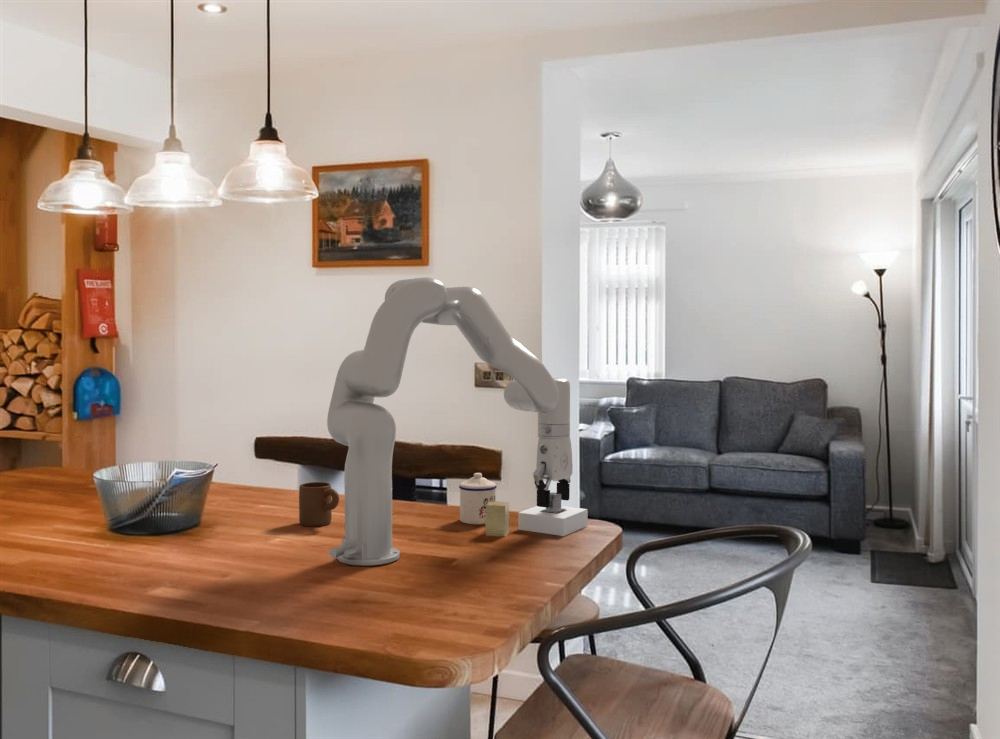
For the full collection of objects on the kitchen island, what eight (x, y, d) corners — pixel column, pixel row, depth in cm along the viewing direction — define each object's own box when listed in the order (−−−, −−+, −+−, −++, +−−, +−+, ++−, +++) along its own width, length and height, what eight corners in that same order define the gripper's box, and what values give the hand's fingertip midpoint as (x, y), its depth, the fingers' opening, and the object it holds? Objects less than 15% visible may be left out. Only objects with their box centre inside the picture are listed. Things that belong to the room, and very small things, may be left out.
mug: (350, 526, 205) (350, 486, 205) (324, 531, 200) (324, 491, 199) (318, 518, 213) (317, 480, 213) (292, 524, 207) (292, 485, 207)
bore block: (564, 536, 196) (564, 518, 196) (518, 529, 202) (518, 512, 202) (587, 525, 206) (587, 509, 206) (543, 519, 212) (543, 503, 212)
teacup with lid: (484, 526, 205) (484, 477, 204) (451, 522, 209) (451, 474, 209) (508, 517, 215) (509, 470, 215) (477, 513, 220) (477, 467, 219)
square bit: (505, 536, 195) (505, 505, 195) (485, 535, 196) (485, 505, 196) (508, 532, 200) (509, 501, 199) (489, 531, 201) (490, 501, 200)
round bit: (556, 530, 202) (556, 496, 201) (543, 528, 204) (543, 494, 203) (563, 527, 205) (564, 493, 204) (550, 525, 207) (550, 492, 206)
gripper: (550, 435, 194) (549, 511, 194) (584, 428, 208) (584, 498, 209) (521, 433, 198) (521, 507, 198) (556, 426, 212) (556, 495, 213)
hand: (553, 503), depth 204 cm, fingers open, 9 cm apart
